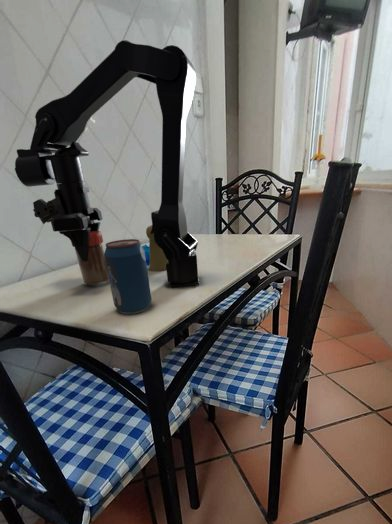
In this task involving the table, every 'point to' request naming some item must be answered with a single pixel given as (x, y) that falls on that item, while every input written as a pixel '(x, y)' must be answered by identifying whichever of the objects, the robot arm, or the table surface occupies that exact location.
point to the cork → (155, 253)
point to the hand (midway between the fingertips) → (88, 258)
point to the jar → (94, 265)
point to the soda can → (128, 275)
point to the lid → (94, 238)
